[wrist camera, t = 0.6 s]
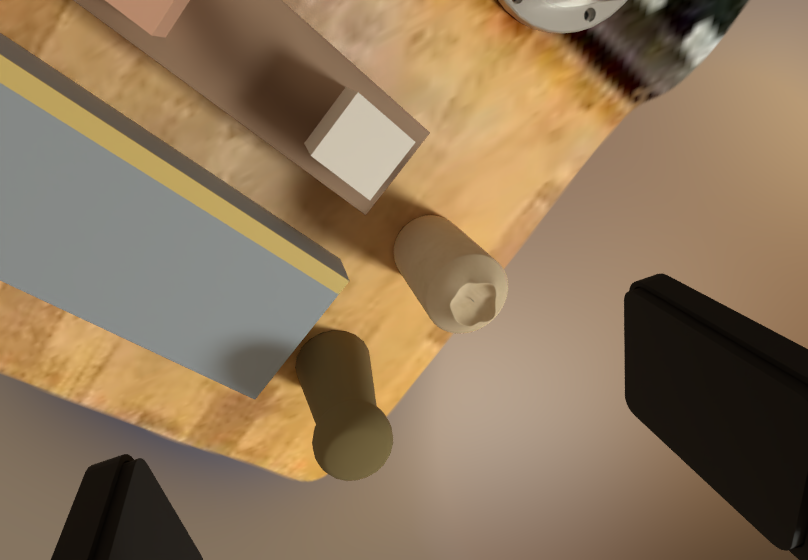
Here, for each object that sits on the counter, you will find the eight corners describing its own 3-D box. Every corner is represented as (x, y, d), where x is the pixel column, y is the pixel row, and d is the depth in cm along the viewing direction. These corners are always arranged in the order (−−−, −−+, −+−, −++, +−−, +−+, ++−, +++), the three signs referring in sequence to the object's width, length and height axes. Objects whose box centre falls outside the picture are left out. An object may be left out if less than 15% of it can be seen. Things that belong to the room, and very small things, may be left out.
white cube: (345, 87, 29) (358, 92, 26) (397, 131, 31) (415, 142, 28) (304, 143, 30) (310, 155, 26) (357, 183, 32) (369, 200, 28)
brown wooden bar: (130, -124, 27) (109, -154, 23) (410, 123, 36) (430, 132, 32) (66, -17, 28) (34, -29, 24) (353, 197, 37) (365, 215, 33)
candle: (427, 199, 38) (479, 244, 29) (474, 243, 40) (535, 297, 31) (377, 253, 39) (414, 314, 30) (426, 293, 41) (473, 360, 32)
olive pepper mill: (280, 376, 41) (288, 478, 31) (324, 317, 39) (347, 404, 30) (342, 405, 43) (367, 507, 33) (384, 350, 42) (423, 440, 32)
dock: (-16, 22, 27) (-57, 17, 24) (340, 259, 38) (349, 281, 34) (-112, 185, 29) (-163, 204, 25) (254, 368, 40) (254, 400, 36)
